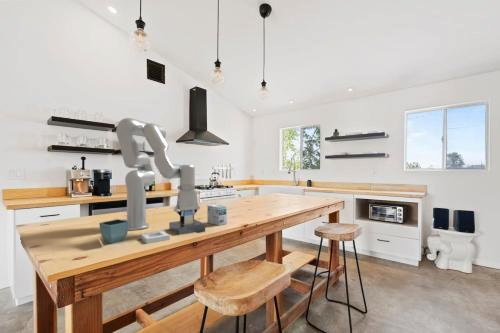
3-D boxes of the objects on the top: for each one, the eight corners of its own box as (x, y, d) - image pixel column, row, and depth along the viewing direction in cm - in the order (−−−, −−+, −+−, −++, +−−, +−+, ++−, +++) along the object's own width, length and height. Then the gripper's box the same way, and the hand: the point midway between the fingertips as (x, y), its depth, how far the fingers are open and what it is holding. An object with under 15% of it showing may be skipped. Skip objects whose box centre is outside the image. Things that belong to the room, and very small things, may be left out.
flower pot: (109, 246, 102) (109, 225, 102) (98, 243, 107) (98, 222, 107) (129, 241, 110) (129, 221, 110) (118, 238, 114) (118, 219, 114)
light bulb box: (227, 223, 145) (227, 205, 145) (218, 225, 140) (218, 207, 140) (215, 221, 152) (215, 203, 152) (206, 223, 147) (206, 205, 147)
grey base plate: (146, 244, 105) (146, 239, 105) (140, 239, 113) (140, 233, 113) (169, 240, 111) (169, 235, 111) (162, 235, 119) (162, 230, 119)
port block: (179, 235, 119) (179, 227, 119) (169, 229, 130) (169, 221, 130) (205, 231, 127) (205, 223, 127) (193, 226, 138) (193, 218, 138)
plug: (184, 229, 125) (184, 212, 125) (181, 227, 129) (181, 210, 129) (193, 228, 128) (193, 211, 128) (189, 226, 132) (189, 210, 132)
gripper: (174, 189, 121) (173, 226, 121) (205, 188, 131) (204, 222, 131) (168, 188, 127) (168, 223, 127) (198, 187, 137) (198, 219, 137)
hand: (187, 222), depth 129 cm, fingers closed on plug, 4 cm apart
